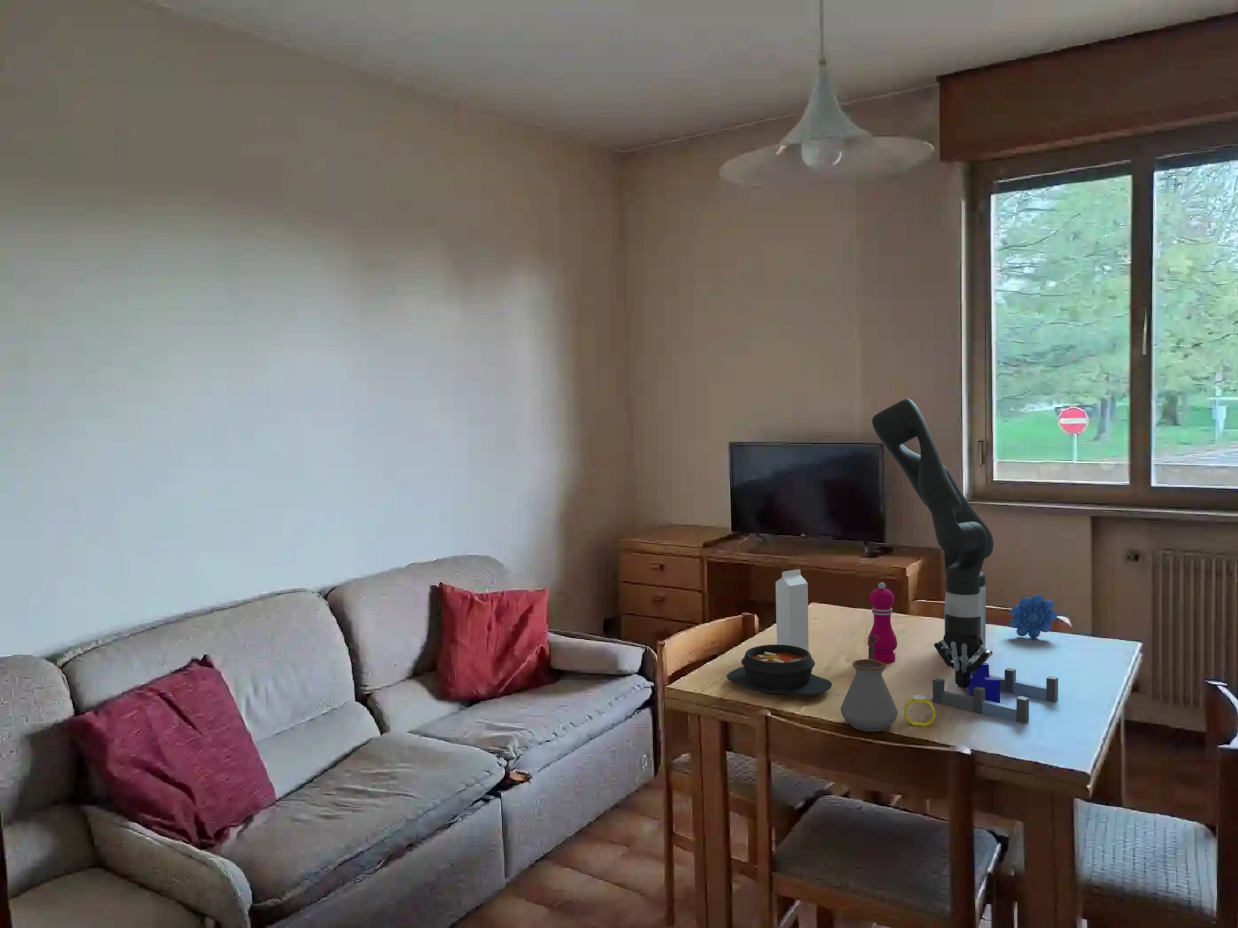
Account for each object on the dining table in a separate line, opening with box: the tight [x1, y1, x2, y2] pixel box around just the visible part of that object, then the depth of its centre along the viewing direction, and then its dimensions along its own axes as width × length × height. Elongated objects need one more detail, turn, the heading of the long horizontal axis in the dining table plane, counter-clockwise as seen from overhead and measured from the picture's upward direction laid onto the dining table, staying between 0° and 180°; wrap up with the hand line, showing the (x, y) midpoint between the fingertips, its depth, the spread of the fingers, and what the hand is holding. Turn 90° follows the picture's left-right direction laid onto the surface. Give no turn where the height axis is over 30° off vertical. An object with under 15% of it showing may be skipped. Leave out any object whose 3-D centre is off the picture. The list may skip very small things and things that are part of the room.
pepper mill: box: [867, 582, 898, 664], centre depth 224 cm, size 7×7×20 cm
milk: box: [775, 568, 810, 653], centre depth 232 cm, size 6×6×22 cm
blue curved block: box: [966, 662, 1001, 704], centre depth 196 cm, size 12×4×6 cm, turn 170°
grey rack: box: [932, 660, 1059, 725], centre depth 193 cm, size 20×18×5 cm
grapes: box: [1009, 594, 1058, 639], centre depth 239 cm, size 12×7×12 cm, turn 69°
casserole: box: [726, 644, 833, 697], centre depth 206 cm, size 25×19×8 cm
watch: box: [903, 694, 936, 727], centre depth 181 cm, size 6×3×6 cm, turn 71°
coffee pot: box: [840, 634, 899, 732], centre depth 187 cm, size 21×12×15 cm, turn 160°
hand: (962, 687), depth 198 cm, fingers closed
